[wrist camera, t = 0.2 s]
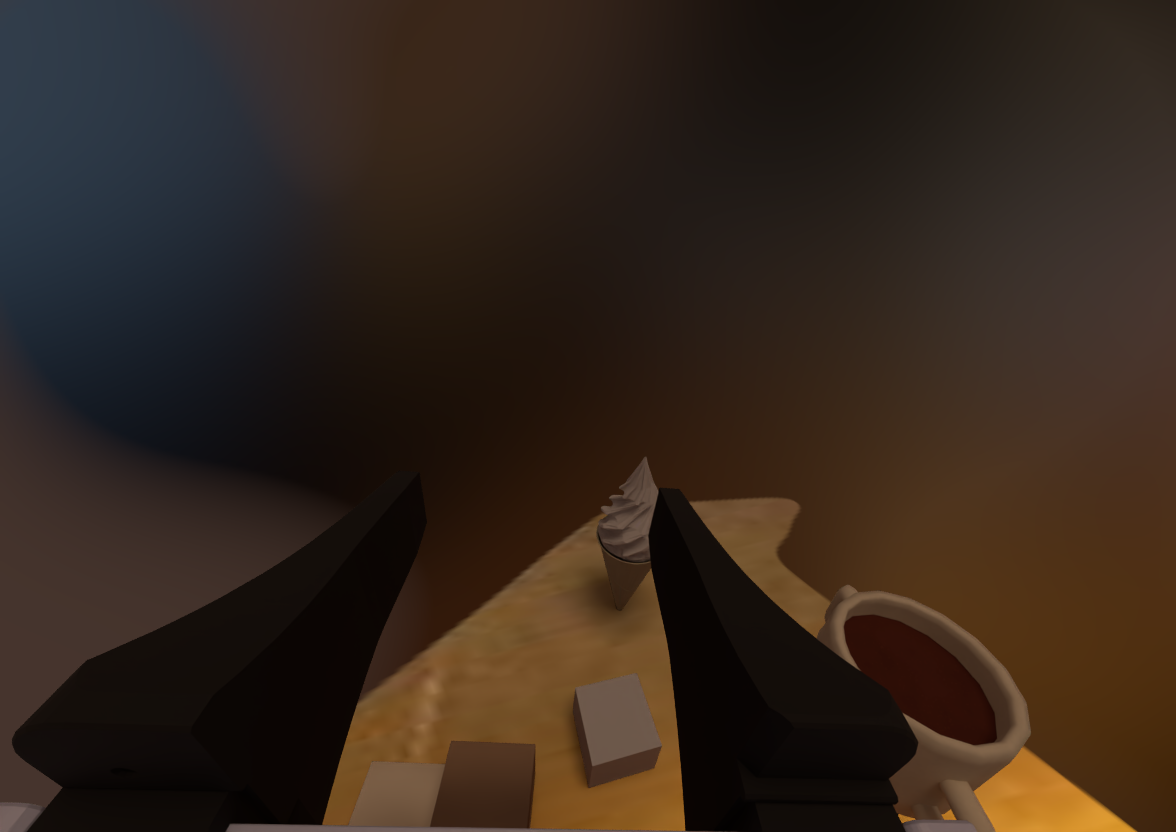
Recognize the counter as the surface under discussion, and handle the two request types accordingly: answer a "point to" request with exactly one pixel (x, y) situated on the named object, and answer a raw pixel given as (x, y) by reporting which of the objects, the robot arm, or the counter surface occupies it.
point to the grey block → (615, 729)
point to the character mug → (933, 698)
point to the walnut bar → (486, 786)
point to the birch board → (399, 795)
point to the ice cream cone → (628, 534)
